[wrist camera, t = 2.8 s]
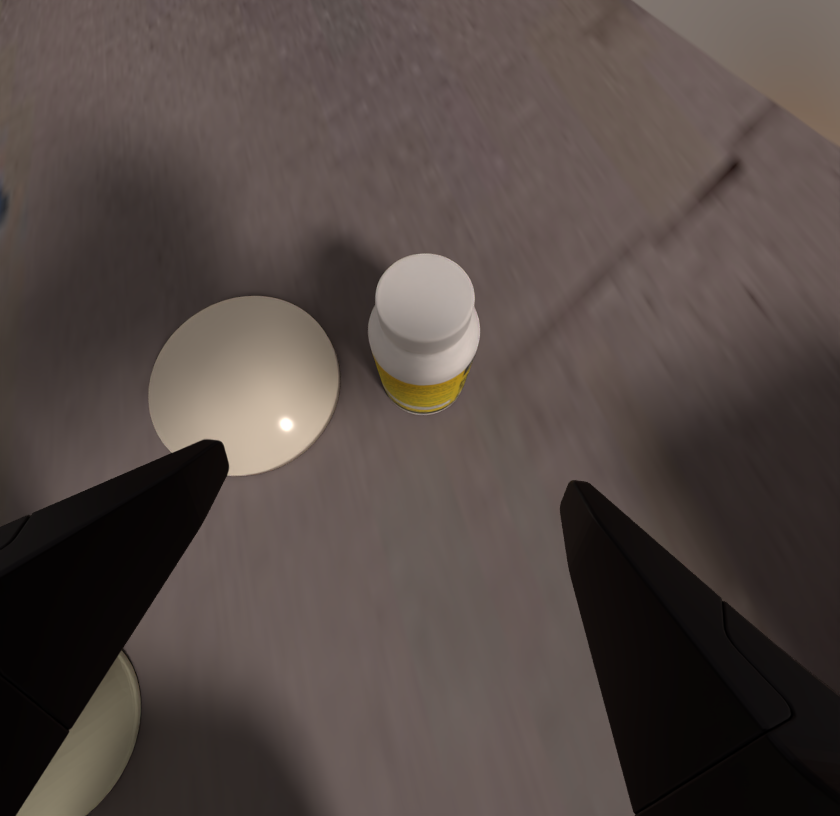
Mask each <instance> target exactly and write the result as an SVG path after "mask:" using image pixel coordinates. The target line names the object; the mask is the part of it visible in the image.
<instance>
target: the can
mask: <svg viewBox="0 0 840 816" xmlns="http://www.w3.org/2000/svg"><path fill="white" fill-rule="evenodd" d="M140 716H141V697H140V690H139V685H138V680H137V677H136V674H135V672H134V669H133V667H132V665H131V663H130V661H129V659H128V658H127V657H126V655H125V654H124V652H123V651H121V652H120V654H119V655H118V657H117V658H116V660H115V662H114V663H113V665H112V666H111V668H110V669H109V671H108V672H107V674H106V676H105V677H104V679H103V680H102V682H101V683H100V685H99V686H98V688H97V690H96V691H95V693H94V694H93V696H92V697H91V699H90V701H89V702H88V704H87V705H86V707H85V708H84V710H83V711H82V713H81V715H80V716H79V718H78V719H77V721H76V722H75V724H74V726H73V727H72V728H71V729H70V730H69V734H68V735H67V737H66V739H65V740H64V742H63V743H62V745H61V746H60V748H59V749H58V751H57V753H56V754H55V756H54V757H53V759H52V760H51V762H50V763H49V765H48V767H47V768H46V770H45V771H44V773H43V774H42V776H41V778H40V779H39V781H38V782H37V784H36V785H35V787H34V788H33V790H32V792H31V793H30V795H29V796H28V798H27V799H26V801H25V802H24V804H23V806H22V807H21V809H20V810H19V812H18V813H17V815H16V816H86V815H87V814H88V813H89V812H91V811H92V810H93V809H94V808H95V807H96V806H97V805H98V804H99V803H100V802H101V801H102V800H103V799H104V798H105V797H106V795H107V794H108V793H109V792H110V791H111V789H112V788H113V787H114V785H115V784H116V782H117V781H118V779H119V778H120V776H121V774H122V773H123V771H124V769H125V767H126V765H127V763H128V761H129V759H130V756H131V754H132V752H133V749H134V746H135V743H136V739H137V735H138V731H139V725H140Z"/></svg>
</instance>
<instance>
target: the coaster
mask: <svg viewBox="0 0 840 816" xmlns="http://www.w3.org/2000/svg"><path fill="white" fill-rule="evenodd" d="M340 380H341V376H340V366H339V362H338V358H337V355H336V352H335V350H334V347H333V345H332V343H331V342H330V340H329V338H328V337H327V335H326V333H325V332H324V330H323V329H322V327H321V326H320V325H319V324H318V323H317V321H316V320H315V319H313V318H312V317H311V316H310V315H309V314H308V313H306V312H305V311H304V310H302V309H301V308H299V307H297V306H295V305H293V304H291V303H289V302H286V301H283V300H281V299H277V298H272V297H265V296H243V297H236V298H232V299H228V300H224V301H221V302H218V303H216V304H213V305H211V306H209V307H207V308H205V309H203V310H201V311H200V312H198V313H197V314H195V315H193V316H192V317H191V318H189V319H188V320H187V321H186V322H184V323H183V324H182V325H181V326H180V327H179V328H178V329H177V330H176V331H175V332H174V333H173V334H172V336H171V337H170V338H169V340H168V341H167V342H166V343H165V345H164V347H163V348H162V350H161V352H160V353H159V355H158V358H157V360H156V362H155V364H154V367H153V371H152V374H151V378H150V384H149V395H148V401H149V411H150V415H151V419H152V423H153V425H154V427H155V430H156V432H157V434H158V436H159V437H160V439H161V441H162V442H163V444H164V445H165V446H166V447H167V448H168V449H169V450H170V452H171V453H173V452H175V451H178V450H180V449H182V448H185V447H187V446H189V445H191V444H194V443H196V442H198V441H201V440H203V439H212V440H219V441H221V442H222V443H223V444H224V447H225V451H226V454H227V458H228V462H229V472H228V474H227V476H251V475H257V474H262V473H266V472H269V471H273V470H275V469H277V468H280V467H282V466H284V465H286V464H288V463H290V462H291V461H293V460H295V459H296V458H298V457H299V456H300V455H302V454H303V453H304V452H305V451H307V450H308V449H309V448H310V447H311V446H312V445H313V444H314V443H315V442H316V441H317V439H318V438H319V437H320V436H321V434H322V433H323V432H324V430H325V429H326V427H327V425H328V424H329V422H330V420H331V418H332V416H333V414H334V411H335V408H336V405H337V402H338V398H339V392H340Z"/></svg>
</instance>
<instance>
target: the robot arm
mask: <svg viewBox="0 0 840 816" xmlns="http://www.w3.org/2000/svg"><path fill="white" fill-rule="evenodd" d="M228 472H229V462H228V458H227V454H226V451H225V447H224V444H223V443H222V442H221V441H219V440H212V439H203V440H201V441H198V442H196V443H194V444H191V445H189V446H187V447H185V448H182V449H180V450H178V451H175V452H173V453H171V454H168V455H166V456H164V457H161V458H159V459H157V460H154V461H152V462H150V463H147V464H145V465H143V466H141V467H138V468H136V469H134V470H131V471H129V472H127V473H124V474H122V475H120V476H117V477H115V478H113V479H110V480H108V481H106V482H104V483H101V484H99V485H97V486H94V487H92V488H90V489H87V490H85V491H83V492H80V493H78V494H76V495H73V496H71V497H69V498H66V499H64V500H62V501H60V502H57V503H55V504H53V505H50V506H48V507H46V508H43V509H41V510H39V511H36V512H34V513H33V514H32V515H27V516H25V517H22V518H20V519H18V520H15V521H13V522H11V523H8V524H6V525H4V526H1V527H0V816H16V815H17V813H18V812H19V810H20V809H21V807H22V806H23V804H24V802H25V801H26V799H27V798H28V796H29V795H30V793H31V792H32V790H33V788H34V787H35V785H36V784H37V782H38V781H39V779H40V778H41V776H42V774H43V773H44V771H45V770H46V768H47V767H48V765H49V763H50V762H51V760H52V759H53V757H54V756H55V754H56V753H57V751H58V749H59V748H60V746H61V745H62V743H63V742H64V740H65V739H66V737H67V735H68V734H69V730H70V729H71V728H72V727H73V726H74V724H75V722H76V721H77V719H78V718H79V716H80V715H81V713H82V711H83V710H84V708H85V707H86V705H87V704H88V702H89V701H90V699H91V697H92V696H93V694H94V693H95V691H96V690H97V688H98V686H99V685H100V683H101V682H102V680H103V679H104V677H105V676H106V674H107V672H108V671H109V669H110V668H111V666H112V665H113V663H114V662H115V660H116V658H117V657H118V655H119V654H120V652H121V651H122V649H123V647H124V646H125V644H126V643H127V641H128V640H129V638H130V637H131V635H132V633H133V632H134V630H135V629H136V627H137V626H138V624H139V622H140V621H141V619H142V618H143V616H144V615H145V613H146V612H147V610H148V608H149V607H150V605H151V604H152V602H153V601H154V599H155V597H156V596H157V594H158V593H159V591H160V590H161V588H162V587H163V585H164V583H165V582H166V580H167V579H168V577H169V576H170V574H171V573H172V571H173V569H174V568H175V566H176V565H177V563H178V562H179V560H180V558H181V557H182V555H183V554H184V552H185V551H186V549H187V548H188V546H189V544H190V543H191V541H192V540H193V538H194V537H195V535H196V533H197V532H198V530H199V529H200V527H201V525H202V523H203V522H204V520H205V518H206V516H207V514H208V512H209V510H210V508H211V506H212V504H213V502H214V500H215V498H216V496H217V494H218V492H219V490H220V488H221V486H222V484H223V482H224V480H225V478H226V476H227V474H228ZM560 515H561V522H562V529H563V535H564V542H565V549H566V555H567V562H568V568H569V572H570V576H571V580H572V584H573V588H574V592H575V595H576V599H577V603H578V607H579V610H580V614H581V618H582V622H583V625H584V629H585V633H586V637H587V640H588V644H589V648H590V652H591V655H592V659H593V663H594V667H595V670H596V674H597V678H598V682H599V685H600V689H601V693H602V697H603V700H604V704H605V708H606V712H607V715H608V719H609V723H610V727H611V731H612V734H613V738H614V742H615V746H616V749H617V753H618V757H619V761H620V764H621V768H622V772H623V776H624V779H625V783H626V787H627V791H628V794H629V798H630V802H631V806H632V809H633V812H634V813H635V814H636V815H635V816H840V695H839V694H837V693H836V692H835V691H833V690H832V689H831V688H830V687H828V686H827V685H826V684H825V683H823V682H822V681H821V680H819V679H818V678H817V677H816V676H814V675H813V674H812V673H811V672H809V671H808V670H807V669H806V668H804V667H803V666H802V665H801V664H799V663H798V662H797V661H796V660H794V659H793V658H792V657H791V656H789V655H788V654H787V653H786V652H785V651H783V650H782V649H781V648H780V647H778V646H777V645H776V644H775V643H773V642H772V641H771V640H770V639H769V638H768V637H766V636H765V635H764V634H763V633H762V632H760V631H759V630H758V629H757V628H756V627H755V626H753V625H752V624H751V623H750V622H749V621H747V620H746V619H745V618H744V617H743V616H742V615H740V614H739V613H738V612H737V611H736V610H735V609H734V608H732V607H731V606H730V605H729V604H728V603H727V602H725V601H722V599H721V597H720V596H718V595H717V594H716V593H715V592H714V591H713V590H712V589H710V588H709V587H708V586H707V585H706V584H705V583H704V582H702V581H701V580H700V579H699V578H698V577H697V576H696V575H694V574H693V573H692V572H691V571H690V570H689V569H687V568H686V567H685V566H684V565H683V564H682V563H681V562H679V561H678V560H677V559H676V558H675V557H674V556H673V555H671V554H670V553H669V552H668V551H667V550H666V549H665V548H663V547H662V546H661V545H660V544H659V543H658V542H656V541H655V540H654V539H653V538H652V537H651V536H650V535H648V534H647V533H646V532H645V531H644V530H643V529H642V528H640V527H639V526H638V525H637V524H636V523H635V522H634V521H632V520H631V519H630V518H629V517H628V516H627V515H625V514H624V513H623V512H622V511H621V510H620V509H619V508H617V507H616V506H615V505H614V504H613V503H612V502H611V501H609V500H608V499H607V498H606V497H605V496H604V495H603V494H601V493H600V492H599V491H598V490H597V489H596V488H594V487H593V486H592V485H591V484H590V483H588V482H585V481H576V480H572V481H570V482H569V484H568V486H567V488H566V491H565V493H564V496H563V499H562V501H561V504H560Z"/></svg>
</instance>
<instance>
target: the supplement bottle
mask: <svg viewBox="0 0 840 816" xmlns="http://www.w3.org/2000/svg"><path fill="white" fill-rule="evenodd" d="M474 301H475V297H474V289H473V285H472V283H471V280H470V278H469V277H468V275H467V274H466V272H465V271H464V270H463V269H462V268H461V267H460V266H459V265H458V264H456V263H455V262H453V261H452V260H450V259H448V258H446V257H443V256H440V255H435V254H415V255H410V256H407V257H405V258H402V259H400V260H398V261H397V262H395V263H394V264H393V265H391V266H390V267H389V268H388V269H387V270H386V271H385V272H384V274H383V275H382V276H381V278H380V280H379V282H378V285H377V288H376V294H375V306H374V308H373V310H372V312H371V315H370V319H369V324H368V338H369V343H370V347H371V351H372V354H373V357H374V360H375V363H376V366H377V369H378V372H379V375H380V378H381V381H382V384H383V387H384V389H385V391H386V393H387V395H388V396H389V398H390V399H391V400H392V402H393V403H394V404H395V405H397V406H398V407H399V408H401V409H402V410H404V411H406V412H409V413H412V414H417V415H429V414H434V413H437V412H440V411H442V410H444V409H446V408H447V407H449V406H450V405H451V404H452V403H453V402H454V401H455V400H456V399H457V397H458V396H459V394H460V393H461V390H462V388H463V386H464V383H465V381H466V378H467V375H468V372H469V370H470V367H471V364H472V362H473V359H474V357H475V354H476V351H477V347H478V344H479V339H480V324H479V318H478V315H477V312H476V310H475V308H474Z"/></svg>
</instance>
